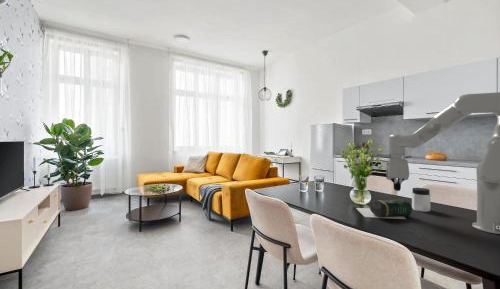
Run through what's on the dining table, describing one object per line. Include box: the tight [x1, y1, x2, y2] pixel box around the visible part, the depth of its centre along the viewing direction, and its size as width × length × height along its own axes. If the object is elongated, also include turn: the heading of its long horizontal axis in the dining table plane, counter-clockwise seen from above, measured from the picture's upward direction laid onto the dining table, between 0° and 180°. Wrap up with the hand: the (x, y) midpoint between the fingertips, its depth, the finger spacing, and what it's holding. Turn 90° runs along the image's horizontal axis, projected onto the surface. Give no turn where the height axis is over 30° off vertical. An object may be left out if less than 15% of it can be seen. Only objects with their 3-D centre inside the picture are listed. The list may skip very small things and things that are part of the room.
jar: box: [411, 187, 431, 213], centre depth 137 cm, size 9×8×12 cm
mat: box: [355, 207, 407, 220], centre depth 131 cm, size 16×20×1 cm
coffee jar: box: [369, 198, 413, 217], centre depth 126 cm, size 10×8×19 cm
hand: (397, 190), depth 130 cm, fingers closed
